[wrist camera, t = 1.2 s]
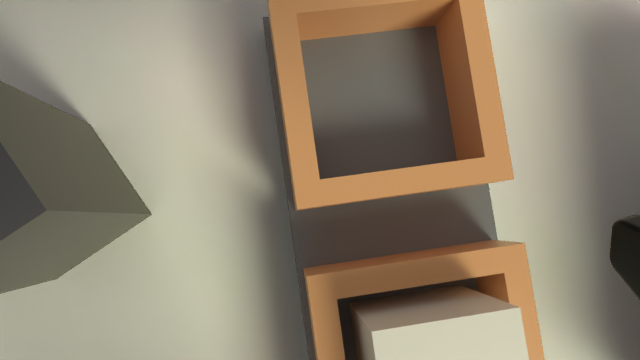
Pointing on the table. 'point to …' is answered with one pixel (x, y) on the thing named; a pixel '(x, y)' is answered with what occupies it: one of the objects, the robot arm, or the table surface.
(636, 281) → the robot arm
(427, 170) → the orange and grey housing
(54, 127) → the dark grey block
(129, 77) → the table surface
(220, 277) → the table surface
